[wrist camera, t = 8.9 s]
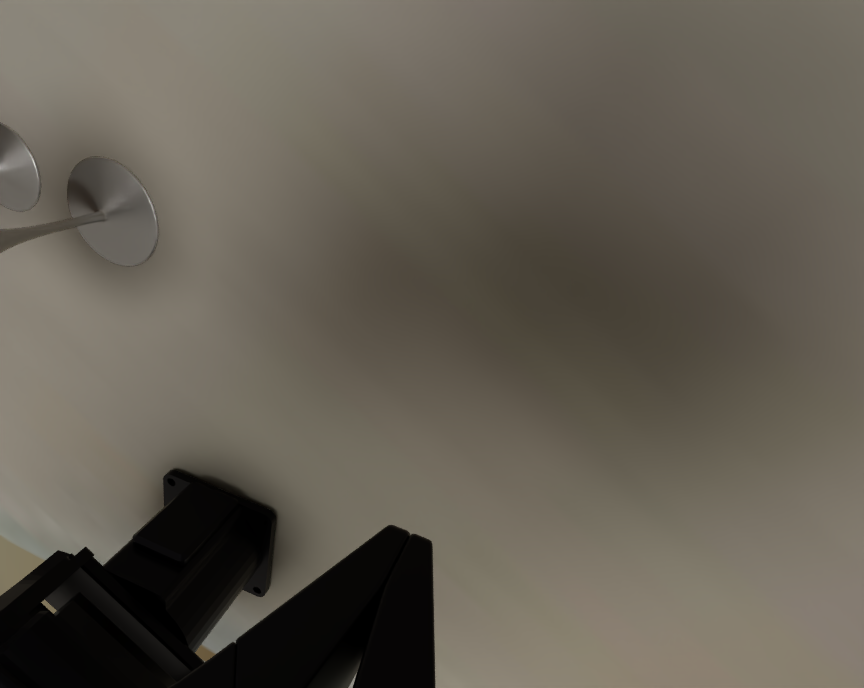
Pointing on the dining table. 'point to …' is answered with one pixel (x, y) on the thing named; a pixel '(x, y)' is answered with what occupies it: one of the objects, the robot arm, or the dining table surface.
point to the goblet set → (82, 203)
